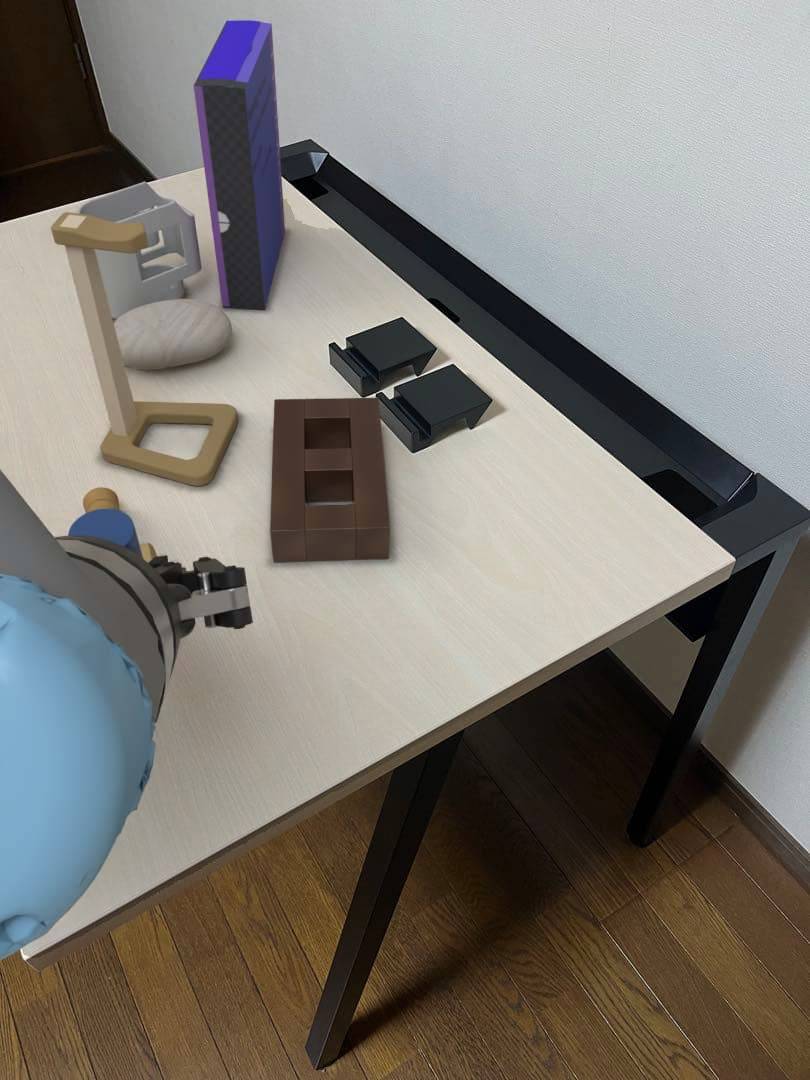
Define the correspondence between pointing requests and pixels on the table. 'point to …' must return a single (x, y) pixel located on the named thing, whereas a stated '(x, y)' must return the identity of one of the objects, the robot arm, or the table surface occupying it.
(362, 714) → the table surface
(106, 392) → the headphone stand
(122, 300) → the cable organizer
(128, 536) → the peg
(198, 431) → the table surface
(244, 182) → the cereal box
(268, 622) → the table surface
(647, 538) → the table surface
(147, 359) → the decorative stone
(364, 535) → the rack
